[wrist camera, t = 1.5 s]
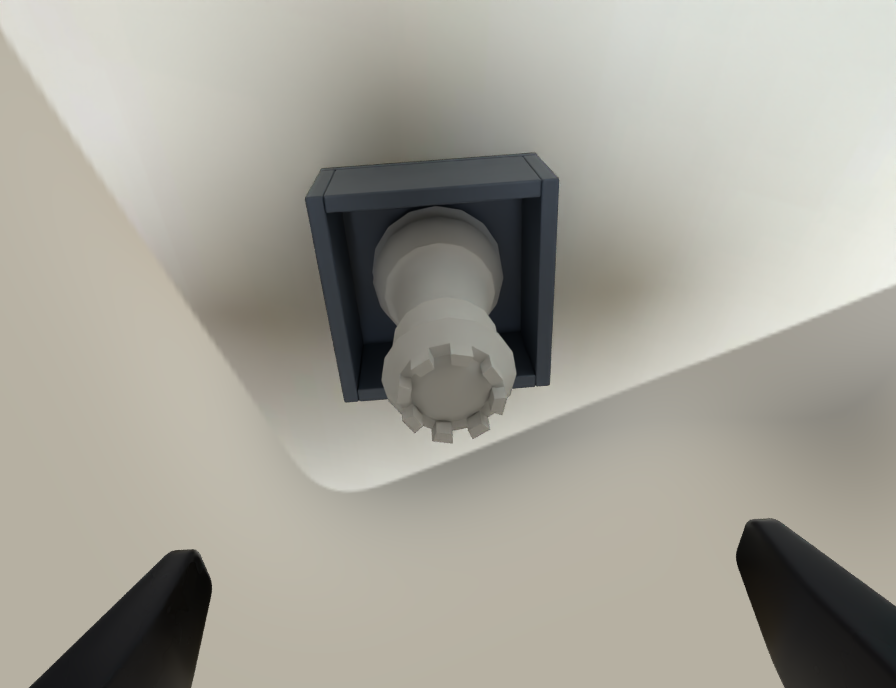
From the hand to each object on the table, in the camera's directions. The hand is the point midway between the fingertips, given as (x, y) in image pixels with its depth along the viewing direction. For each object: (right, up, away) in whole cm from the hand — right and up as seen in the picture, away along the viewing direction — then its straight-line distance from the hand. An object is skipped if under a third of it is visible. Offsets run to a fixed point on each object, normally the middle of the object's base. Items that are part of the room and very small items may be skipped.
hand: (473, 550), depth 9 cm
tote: (-1, +6, +11) cm, 12 cm away
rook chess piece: (-1, +6, +10) cm, 12 cm away
